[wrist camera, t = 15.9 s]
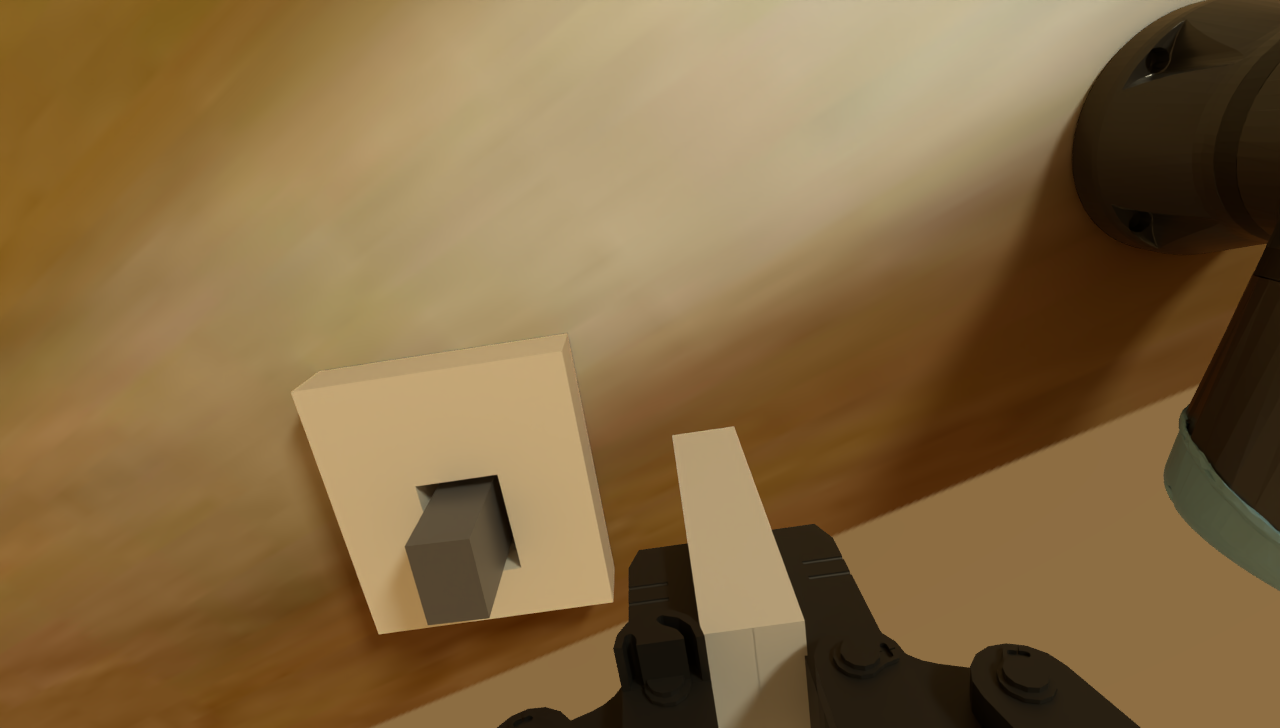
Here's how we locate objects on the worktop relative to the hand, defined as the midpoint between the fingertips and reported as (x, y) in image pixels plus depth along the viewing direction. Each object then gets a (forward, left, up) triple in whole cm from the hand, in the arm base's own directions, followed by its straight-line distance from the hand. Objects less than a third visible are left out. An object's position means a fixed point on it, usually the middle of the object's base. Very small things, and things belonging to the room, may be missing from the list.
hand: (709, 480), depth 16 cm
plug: (+16, +16, -29) cm, 37 cm away
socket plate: (+16, +14, -29) cm, 36 cm away
